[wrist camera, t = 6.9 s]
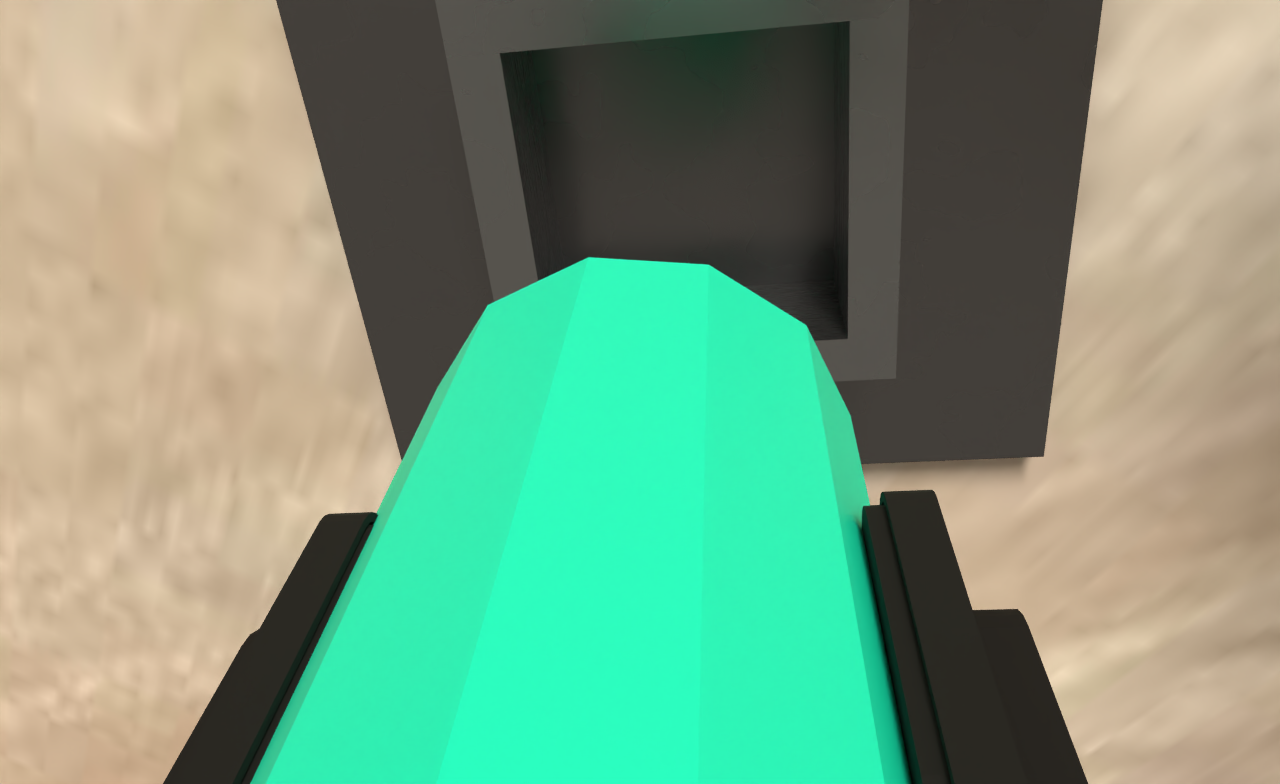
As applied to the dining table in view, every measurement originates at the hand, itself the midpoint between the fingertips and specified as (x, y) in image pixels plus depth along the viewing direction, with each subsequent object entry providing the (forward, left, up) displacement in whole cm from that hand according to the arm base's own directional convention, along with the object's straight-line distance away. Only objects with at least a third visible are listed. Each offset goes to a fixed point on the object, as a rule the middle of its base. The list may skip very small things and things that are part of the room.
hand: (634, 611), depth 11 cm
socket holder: (0, 0, -18) cm, 18 cm away
